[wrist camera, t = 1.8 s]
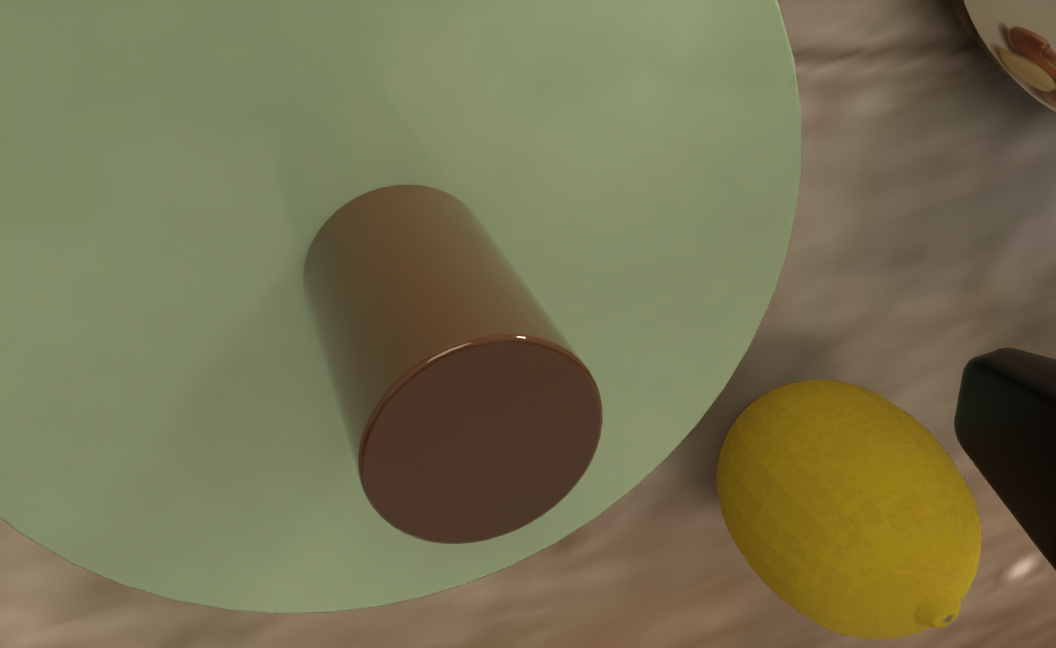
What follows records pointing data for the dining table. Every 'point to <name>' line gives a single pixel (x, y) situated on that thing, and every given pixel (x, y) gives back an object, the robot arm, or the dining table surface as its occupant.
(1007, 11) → the spread jar
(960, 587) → the lemon
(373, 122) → the crock lid
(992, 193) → the dining table surface
